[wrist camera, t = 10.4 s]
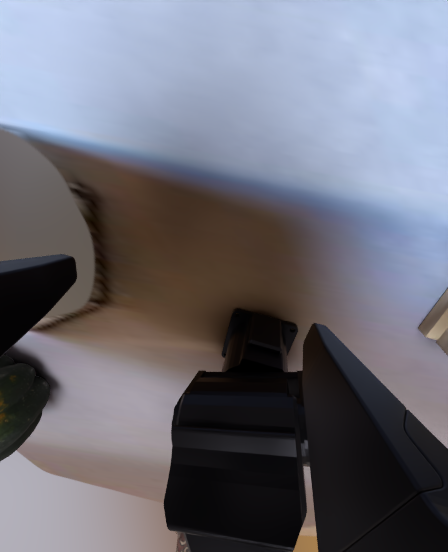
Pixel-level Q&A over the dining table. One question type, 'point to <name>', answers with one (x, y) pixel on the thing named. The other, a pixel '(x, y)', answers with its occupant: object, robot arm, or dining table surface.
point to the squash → (19, 403)
